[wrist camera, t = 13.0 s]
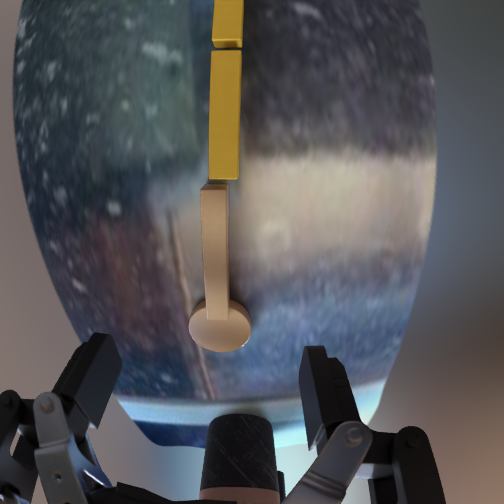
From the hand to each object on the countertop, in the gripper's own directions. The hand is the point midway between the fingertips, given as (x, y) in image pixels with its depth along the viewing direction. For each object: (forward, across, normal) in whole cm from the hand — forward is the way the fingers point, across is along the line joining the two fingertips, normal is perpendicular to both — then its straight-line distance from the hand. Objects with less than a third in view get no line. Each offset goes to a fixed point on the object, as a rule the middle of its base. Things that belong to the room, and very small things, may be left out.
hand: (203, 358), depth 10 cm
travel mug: (+8, -1, +21) cm, 22 cm away
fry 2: (+8, 0, -9) cm, 12 cm away
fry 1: (+8, 0, -17) cm, 19 cm away
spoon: (+8, 0, +1) cm, 8 cm away
